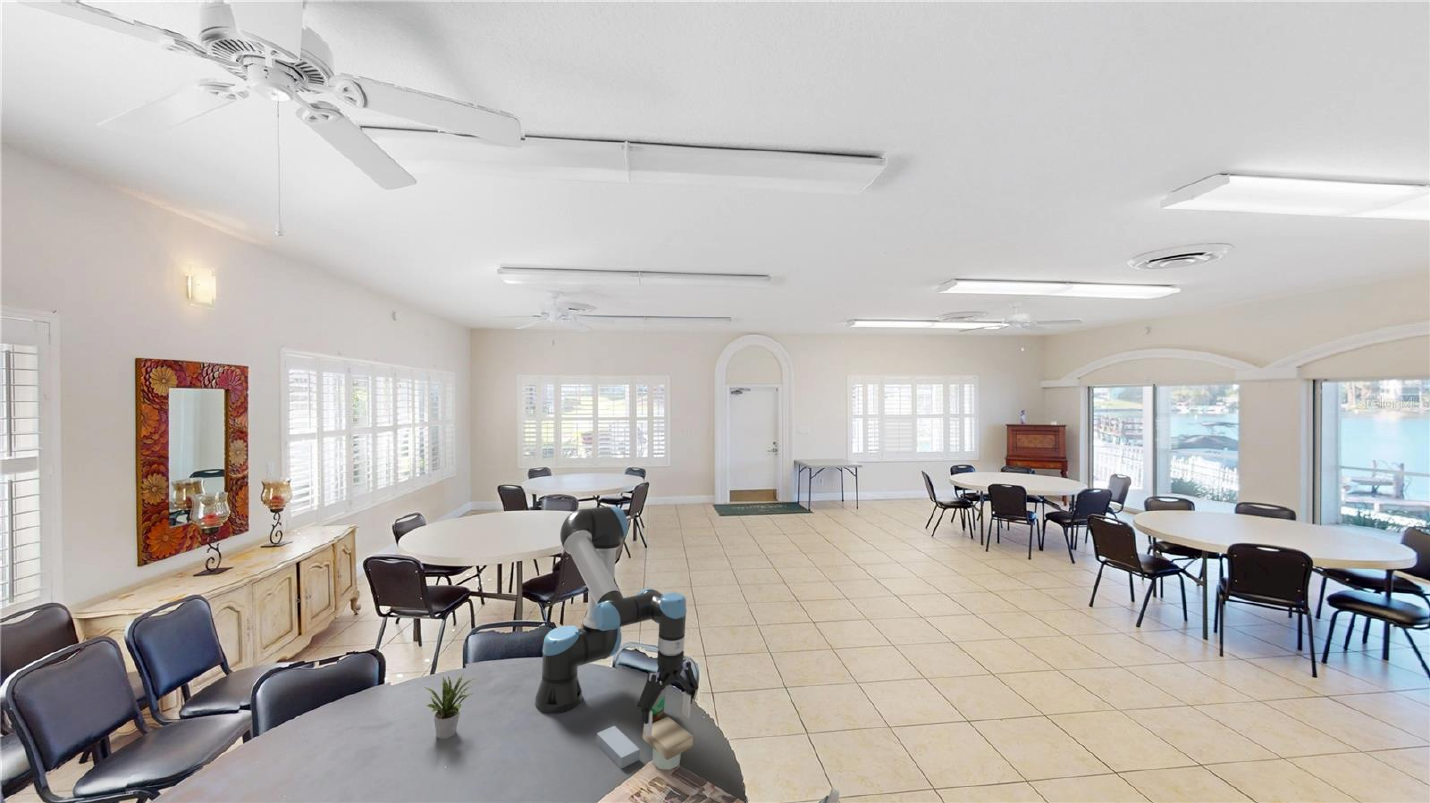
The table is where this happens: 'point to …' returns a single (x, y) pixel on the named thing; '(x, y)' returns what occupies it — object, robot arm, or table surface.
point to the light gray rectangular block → (618, 747)
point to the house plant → (447, 708)
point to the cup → (665, 761)
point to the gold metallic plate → (668, 738)
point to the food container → (659, 706)
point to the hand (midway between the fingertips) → (667, 724)
